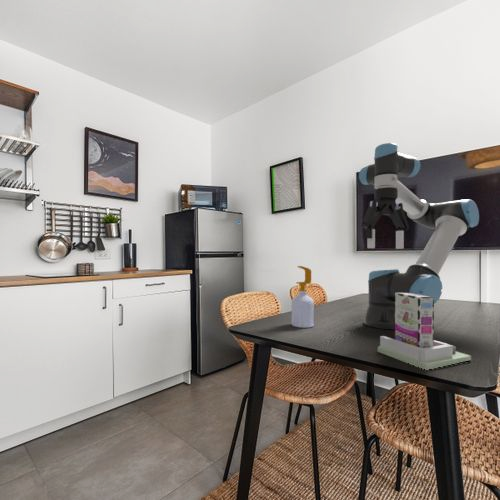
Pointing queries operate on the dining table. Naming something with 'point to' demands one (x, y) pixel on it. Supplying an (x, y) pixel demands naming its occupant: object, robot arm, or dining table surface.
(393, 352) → the white open tray
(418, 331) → the candy bar box
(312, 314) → the soap bottle
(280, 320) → the dining table surface
